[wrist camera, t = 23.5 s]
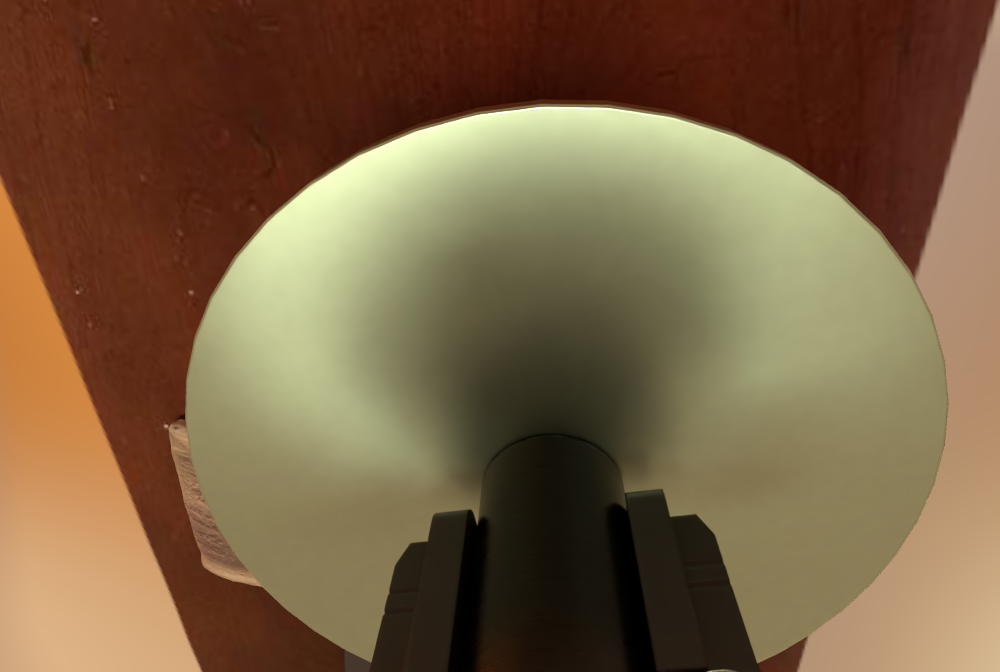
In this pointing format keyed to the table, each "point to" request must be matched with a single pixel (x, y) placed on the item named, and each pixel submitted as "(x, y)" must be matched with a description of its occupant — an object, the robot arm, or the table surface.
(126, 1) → the table surface
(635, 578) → the lid
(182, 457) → the fragment
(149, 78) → the table surface
